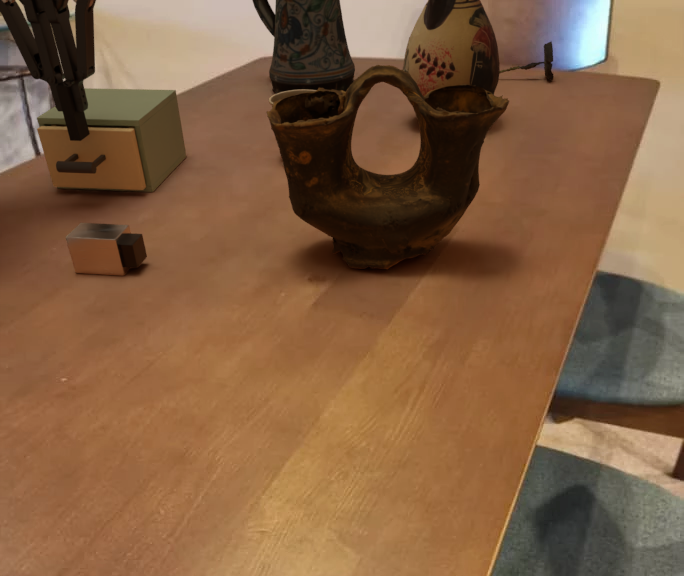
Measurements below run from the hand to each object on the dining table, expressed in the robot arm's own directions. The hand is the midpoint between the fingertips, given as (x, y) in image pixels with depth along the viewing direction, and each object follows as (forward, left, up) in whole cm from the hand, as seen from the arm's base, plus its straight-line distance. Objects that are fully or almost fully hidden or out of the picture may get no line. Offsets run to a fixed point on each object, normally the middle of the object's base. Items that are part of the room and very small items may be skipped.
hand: (80, 137), depth 95 cm
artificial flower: (+54, +65, -9) cm, 84 cm away
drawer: (0, +6, -7) cm, 9 cm away
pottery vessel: (+42, -12, -9) cm, 44 cm away
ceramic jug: (+46, +37, -9) cm, 59 cm away
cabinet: (0, +11, -8) cm, 13 cm away
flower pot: (+26, +19, -9) cm, 33 cm away
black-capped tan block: (+11, -19, -8) cm, 24 cm away
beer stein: (+18, +58, -9) cm, 61 cm away
